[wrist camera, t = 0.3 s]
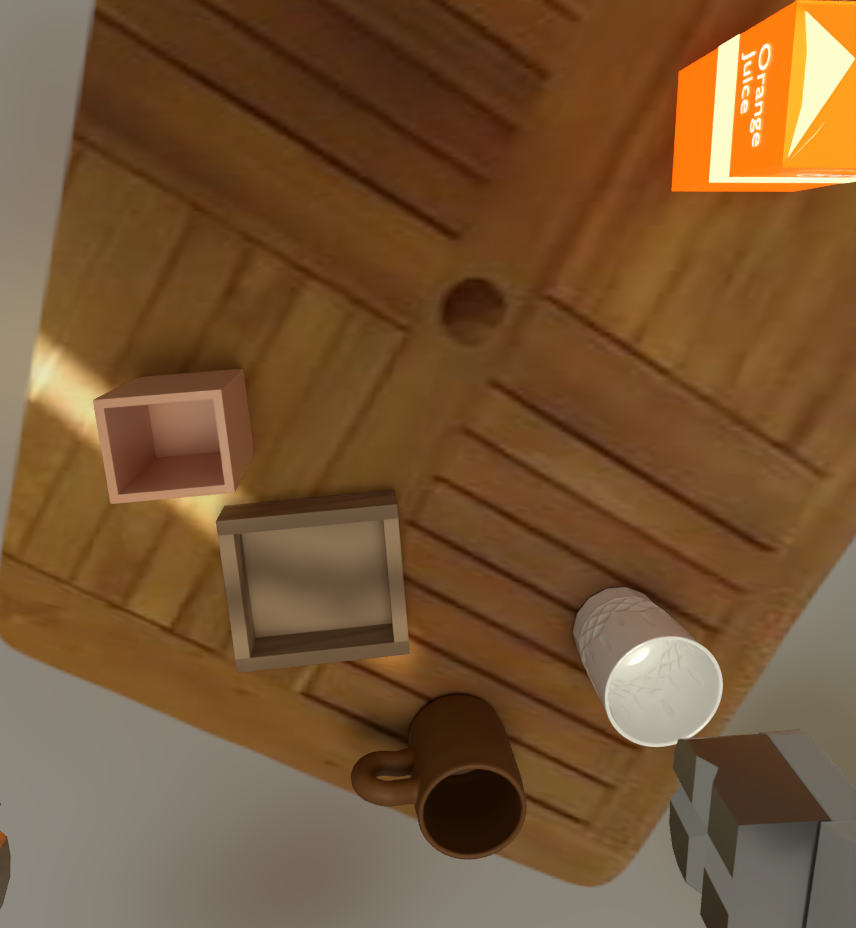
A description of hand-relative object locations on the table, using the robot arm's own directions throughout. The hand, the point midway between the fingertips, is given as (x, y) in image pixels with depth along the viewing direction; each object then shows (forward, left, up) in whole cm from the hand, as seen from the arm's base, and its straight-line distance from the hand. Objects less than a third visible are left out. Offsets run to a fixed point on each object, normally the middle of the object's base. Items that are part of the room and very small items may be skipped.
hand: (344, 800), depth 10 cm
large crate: (+15, -4, -48) cm, 50 cm away
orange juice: (-13, +27, -48) cm, 56 cm away
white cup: (+22, +18, -48) cm, 55 cm away
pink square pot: (+3, -11, -47) cm, 49 cm away
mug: (+29, +3, -48) cm, 56 cm away
